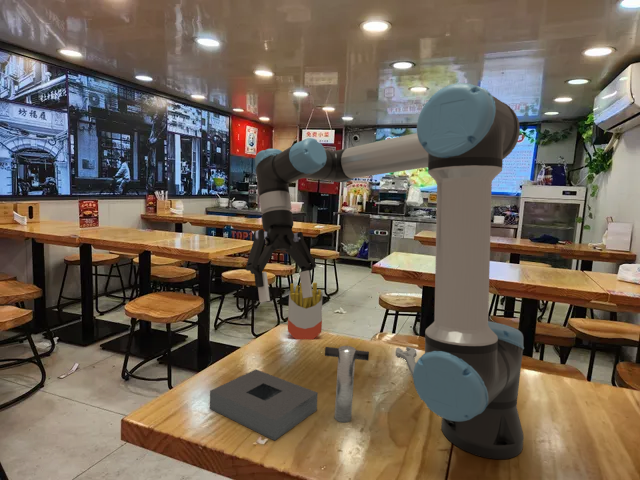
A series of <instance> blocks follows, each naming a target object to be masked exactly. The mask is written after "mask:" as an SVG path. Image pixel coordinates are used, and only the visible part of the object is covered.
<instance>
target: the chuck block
mask: <svg viewBox="0 0 640 480" xmlns="http://www.w3.org/2000/svg"><path fill="white" fill-rule="evenodd" d="M318 395H319V392H317V391H315V390H312V389H309V388H306V387H304V386H301V385H299V384H295V383H294V382H290V381H288V380H285V379H282V378H280V377H277V376H275V375H273V374H272V375H271V374H269V373H268V372H267V373H266V372H264V371H261V370H259V369H256V368H255V369H253V370H251V371H249V372H247V373H245V374H243V375H240V376H239V377H237V378H234V379H232V380H230V381H228V382H226V383H223V384H222V385H220V386H218V387H216V388H212V389H211V390H209V410H211V411H213V412H215V413H217V414H219V415H222V416H224V417H226V418H228V419H230V420H232V421H234V422H236V423H238V424H240V425H241V426H244V427H246V428H248V429H250V430H252V431H254V432H256V433H259V434H260V435H262V436H264V437H266V438H268V439H270V440H272V441H274V442H275V441H276V440H278V439H280V438H281V437H282V436H283V435H284V434H286V433H288V432H289V431H290V430H291V429H293V428H295V426H297V425H298V424H300V423H301V422H303V421H304V420H305V419H307V418H308V417H310V416H311V415H312V414H313V413H315V412H316V411H318V408H317V407H318Z"/></svg>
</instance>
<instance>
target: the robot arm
mask: <svg viewBox="0 0 640 480" xmlns="http://www.w3.org/2000/svg"><path fill="white" fill-rule="evenodd" d="M418 115H419V116H418V119H417V124H416V132H415V133H411V134H406V135H401V136H397V137H392V138H387V139H383V140H378V141H374V142H370V143H365V144H360V145H356V146H352V147H347V148H343V149H338V150H330V149H326V148H325V147H324V146H323V144H322V143H321V142H319V141H318V140H317V139H316V138H312V137H309V138H305V139H302V140H301V141H300V140H299V141H298V142H296V143H294V144H293V145H291V146H290V147H288V148H286V149H284V150H283V151H282V150H281V149H278V148H266V149H265V150H263V149H262V150H260V151H259V152H257V154H256V155H255V158H254V159H255V160H254V161H255V169H254V170H255V174H256V183H257V189H258V190H257V191H258V199H259V207H260V213H262V215H261V225H262V229H257V230H256V231H254V232H253V242H252V245H251V249H250V251H249V255H248V257H247V258H248V259H247V262H246V266H245V270H246V271H247V272H250V274H252V275H254V283H255V284H254V285H255V287H256V288H257V290H258V291H257V292H258V299H259V300H258V301H259V303H267V302H270V301H271V298H270V289H269V281H268V272H267V271H264V270H265V268H266V267H267V264H268V263H269V260H270V259H271V257H272V255H273V253H274V251H282V252H286V253H288V254H289V256H290V257H291V259H293V261H294V263H295V264H296V265H297V266H298V267H299V268H300V269H299V270H301V272H299V278H300V279H299V280H300V282H301V287H302V295H303V298H308V297H313V295H312V290H313V287H312V284H313V278H312V273H311V271H313V270H314V269H315V268H317V265H316V261H315V260H314V257H313V256H312V253H311V252H310V250H309V247H308V244H306V241H305V239H304V234H303V232H302V231H299V232H295V233H294V232H293V227H294V218H293V217H294V216H293V212H292V211H291V210H292V208H293V207H292V202H291V196H290V195H291V194H290V188H289V184H292V183H294V182H296V181H299V180H301V179H309V180H321V181H322V180H323V181H330V182H335V183H346V182H347V183H348V182H350V181H352V180H353V179H355V178H356V179H357V178H362V177H363V178H364V177H369V176H370V177H371V176H378V175H383V174H384V175H385V174H390V173H397V172H398V173H399V172H405V171H410V170H417V169H425V168H427V174H428V175H429V176H430V177H431V178H432V179H433V180H434V181H435V182H436V218H435V219H436V221H435V223H436V224H435V228H436V229H435V230H436V231H435V267H434V268H435V269H434V270H435V272H434V273H435V274H434V275H435V276H434V277H435V279H434V281H435V283H434V285H435V286H434V321H433V322H432V323H431V324H430V325H429V326H427V328H425V332H424V334H425V335H424V353H423V354H422V355H421V356H420V357H419V358H418V359H417V361H416V365H415V367H414V371H413V377H412V379H413V385H414V388H415V391H416V393H417V395H418V397H419V399H420V400H422V401H423V402H424V404H425V405H426V407H427V408H428V409H429V410H430V411H431V412H432V413H434V414H435V415H437V416H438V417H441V426H440V428H441V432H442V433H443V435H444V437H446V438H447V440H448V441H449V442H450V443H452V444H453V445H455V446H456V447H457V448H459V449H461V450H462V451H466V452H467V453H470V454H473V455H475V456H477V457H478V456H479V457H482V458H487V459H492V460H506V459H512V458H515V457H517V456H518V455H520V454H521V453H522V451H523V447H524V431H523V428H522V423H521V419H520V415H519V411H518V398H519V389H520V377H521V372H522V371H521V369H522V361H523V352H524V349H525V347H524V334H523V332H522V331H520V330H519V329H518V328H515V327H512V326H509V325H507V324H503V323H499V322H493V321H491V320H490V321H489V309H490V308H489V307H490V305H489V301H490V262H491V261H490V260H491V227H492V226H491V224H492V223H491V222H492V187H493V186H492V183H493V180H494V179H495V178H496V177H497V176H499V174H500V173H502V171H503V165H504V163H503V161H504V160H505V159H506V158H507V157H508V156H509V155H510V154H511V153H512V152H513V150H514V149H515V147H516V146H517V144H518V140H519V137H520V132H521V127H520V120H519V118H518V115H517V113H516V112H515V111H514V110H513V108H511V107H510V106H509V104H506V102H503V101H501V99H498V98H497V97H496V96H494V95H492V93H491V92H490V91H488V89H486V88H485V87H481V86H478V85H475V84H472V83H469V82H459V83H458V82H457V83H453V84H452V83H451V84H449V85H445V86H444V87H442V88H440V89H438V90H437V91H436V92H435V93H434V94H432V95H431V97H430V98H429V99H428V100H427V101H426V102H425V103H424V105H423V107H422V108H421V110H420V113H419V114H418ZM265 241H266V244H265V245H264V243H265ZM263 246H264V247H263ZM262 249H263V251H262Z"/></svg>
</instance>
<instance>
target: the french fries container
mask: <svg viewBox="0 0 640 480" xmlns="http://www.w3.org/2000/svg"><path fill="white" fill-rule="evenodd" d="M294 286H295V284H294V283H290V286H289V287H290V289H289V292H288V310H287V311H288V312H287V314H288V315H287V332H288V333H289V334H290V335H291V336H292V337H293V338H294V339H295V340H311V341H312V340H314V339H315V338H316V337H318V335H319V336H320V334H321V333H322V329H323V328H322V327H323V295H324V293H323V292H322V290H321V289H318V283H317V282H312V295H313V297H308V298H303V295H302V287H301V281H300V282H299V285H296V286H295V287H294ZM294 288H295V289H294Z"/></svg>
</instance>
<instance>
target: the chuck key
mask: <svg viewBox="0 0 640 480" xmlns="http://www.w3.org/2000/svg"><path fill="white" fill-rule="evenodd" d="M324 356H325V357H334V358H337V368H336V369H337V371H336V372H337V373H336V374H337V375H336V388H335V403H334V404H335V405H334V419H335V421H337V422H339V423H348V422H351V420H352V413H353V412H352V410H353V397H354V396H353V395H354V385H355V384H354V383H355V382H354V381H355V380H354V379H355V367H356V366H355V365H356V360H360V361H368V362H369V360H370V351H367V350H359V349H356V348H355V347H353V346H351V345H350V346H349V345H342V346H339V347H331V346H330V347H328V346H325V348H324Z"/></svg>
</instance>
